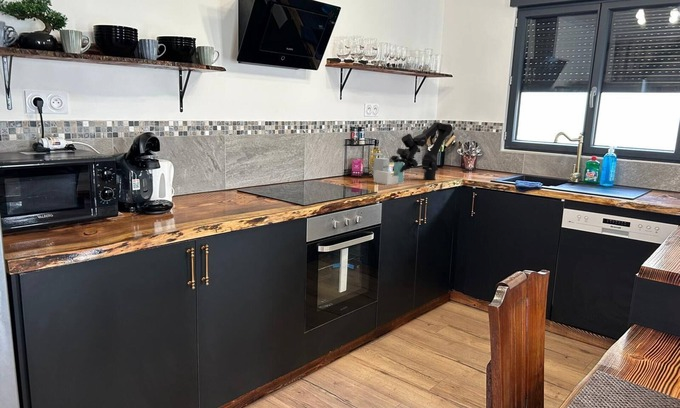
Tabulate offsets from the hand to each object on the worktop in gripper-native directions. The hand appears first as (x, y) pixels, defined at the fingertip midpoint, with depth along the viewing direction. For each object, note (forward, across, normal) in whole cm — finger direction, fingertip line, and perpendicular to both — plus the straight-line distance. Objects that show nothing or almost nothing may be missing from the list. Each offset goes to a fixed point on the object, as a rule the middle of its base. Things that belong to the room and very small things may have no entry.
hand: (396, 171), depth 309 cm
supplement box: (+1, -20, +8) cm, 21 cm away
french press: (-4, -32, +14) cm, 35 cm away
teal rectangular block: (+4, 0, +6) cm, 7 cm away
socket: (+10, 0, -1) cm, 10 cm away
